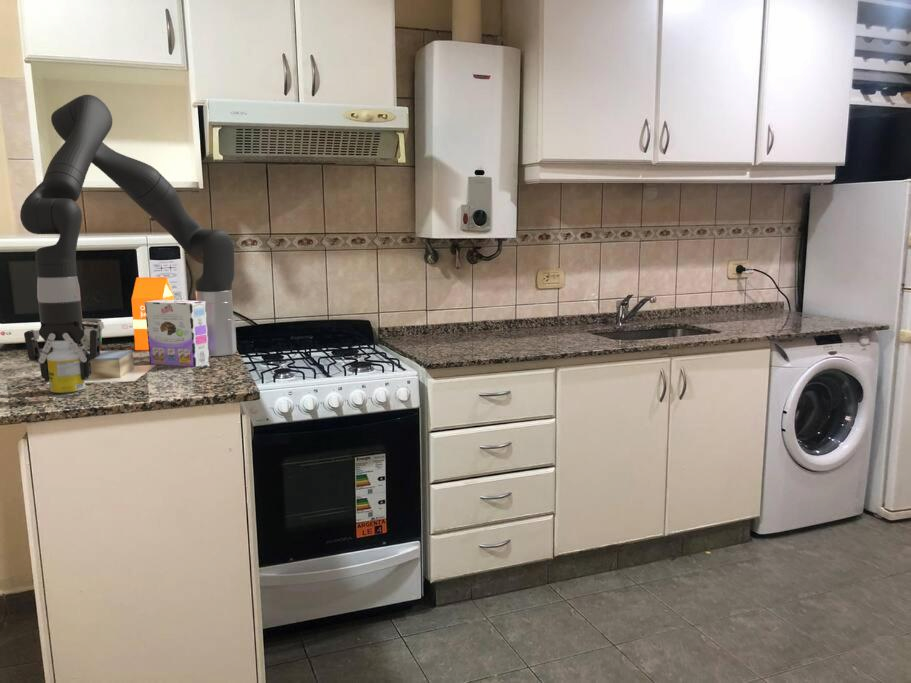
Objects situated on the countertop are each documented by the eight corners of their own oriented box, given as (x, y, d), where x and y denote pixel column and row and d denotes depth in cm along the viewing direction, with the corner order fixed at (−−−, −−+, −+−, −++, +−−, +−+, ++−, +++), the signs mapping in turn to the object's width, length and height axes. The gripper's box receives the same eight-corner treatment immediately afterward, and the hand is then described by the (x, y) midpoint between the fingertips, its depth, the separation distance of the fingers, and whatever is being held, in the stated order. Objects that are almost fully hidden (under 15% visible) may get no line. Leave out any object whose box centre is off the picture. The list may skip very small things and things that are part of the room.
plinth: (133, 368, 168) (132, 350, 168) (120, 377, 159) (119, 357, 158) (88, 370, 167) (87, 351, 166) (72, 379, 157) (70, 359, 156)
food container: (116, 355, 191) (113, 318, 189) (103, 360, 185) (100, 321, 183) (73, 354, 192) (69, 318, 190) (58, 359, 186) (54, 321, 184)
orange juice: (166, 350, 199) (161, 278, 196) (134, 350, 199) (129, 278, 196) (177, 345, 207) (172, 276, 204) (147, 345, 207) (142, 276, 204)
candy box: (210, 366, 176) (207, 300, 174) (195, 371, 171) (190, 302, 168) (165, 363, 181) (161, 298, 178) (148, 367, 175) (143, 300, 172)
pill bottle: (59, 391, 150) (54, 337, 148) (91, 391, 150) (86, 336, 149) (44, 399, 144) (39, 342, 142) (77, 398, 144) (72, 341, 142)
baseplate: (156, 369, 173) (156, 365, 173) (134, 385, 155) (134, 381, 155) (77, 371, 170) (77, 367, 170) (46, 388, 153) (45, 383, 153)
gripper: (103, 296, 148) (110, 375, 151) (29, 297, 146) (37, 377, 149) (90, 300, 141) (97, 382, 144) (12, 301, 139) (21, 385, 142)
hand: (66, 379), depth 147 cm, fingers closed on pill bottle, 6 cm apart
